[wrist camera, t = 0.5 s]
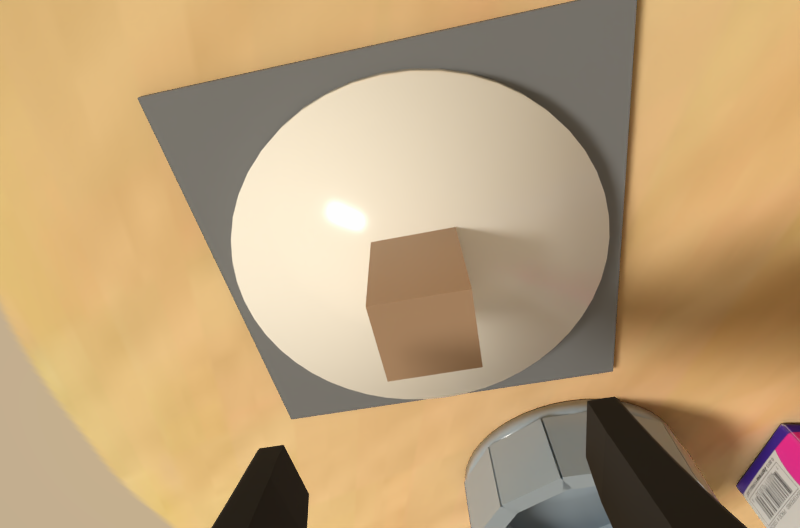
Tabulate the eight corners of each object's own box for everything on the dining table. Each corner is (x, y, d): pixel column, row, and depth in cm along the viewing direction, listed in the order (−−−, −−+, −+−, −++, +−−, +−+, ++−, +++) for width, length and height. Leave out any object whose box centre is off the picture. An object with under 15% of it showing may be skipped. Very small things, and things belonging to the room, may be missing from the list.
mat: (633, -13, 14) (637, -12, 14) (610, 366, 22) (612, 371, 22) (141, 96, 15) (137, 98, 15) (292, 414, 24) (291, 419, 23)
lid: (609, 23, 14) (697, 40, 10) (596, 361, 22) (643, 450, 17) (171, 117, 15) (92, 166, 11) (301, 405, 23) (282, 498, 19)
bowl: (690, 383, 23) (742, 453, 19) (665, 515, 29) (701, 586, 26) (451, 418, 24) (461, 490, 20) (476, 538, 30) (487, 609, 27)
